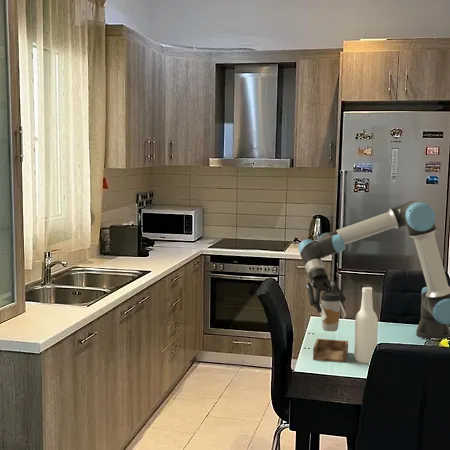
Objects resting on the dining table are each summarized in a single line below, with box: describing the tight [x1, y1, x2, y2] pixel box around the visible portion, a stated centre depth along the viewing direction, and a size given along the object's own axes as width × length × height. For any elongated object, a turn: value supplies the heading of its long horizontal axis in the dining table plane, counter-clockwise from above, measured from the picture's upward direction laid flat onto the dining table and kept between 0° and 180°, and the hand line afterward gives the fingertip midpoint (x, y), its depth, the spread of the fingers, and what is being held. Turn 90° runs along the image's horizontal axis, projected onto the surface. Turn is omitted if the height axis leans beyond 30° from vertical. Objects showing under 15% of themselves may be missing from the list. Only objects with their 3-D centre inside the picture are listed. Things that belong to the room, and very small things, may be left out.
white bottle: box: [353, 286, 379, 365], centre depth 238 cm, size 9×9×30 cm
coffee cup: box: [320, 291, 341, 332], centre depth 243 cm, size 8×8×15 cm
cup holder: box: [312, 338, 349, 363], centre depth 245 cm, size 13×13×5 cm
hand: (334, 317), depth 240 cm, fingers closed on coffee cup, 8 cm apart
